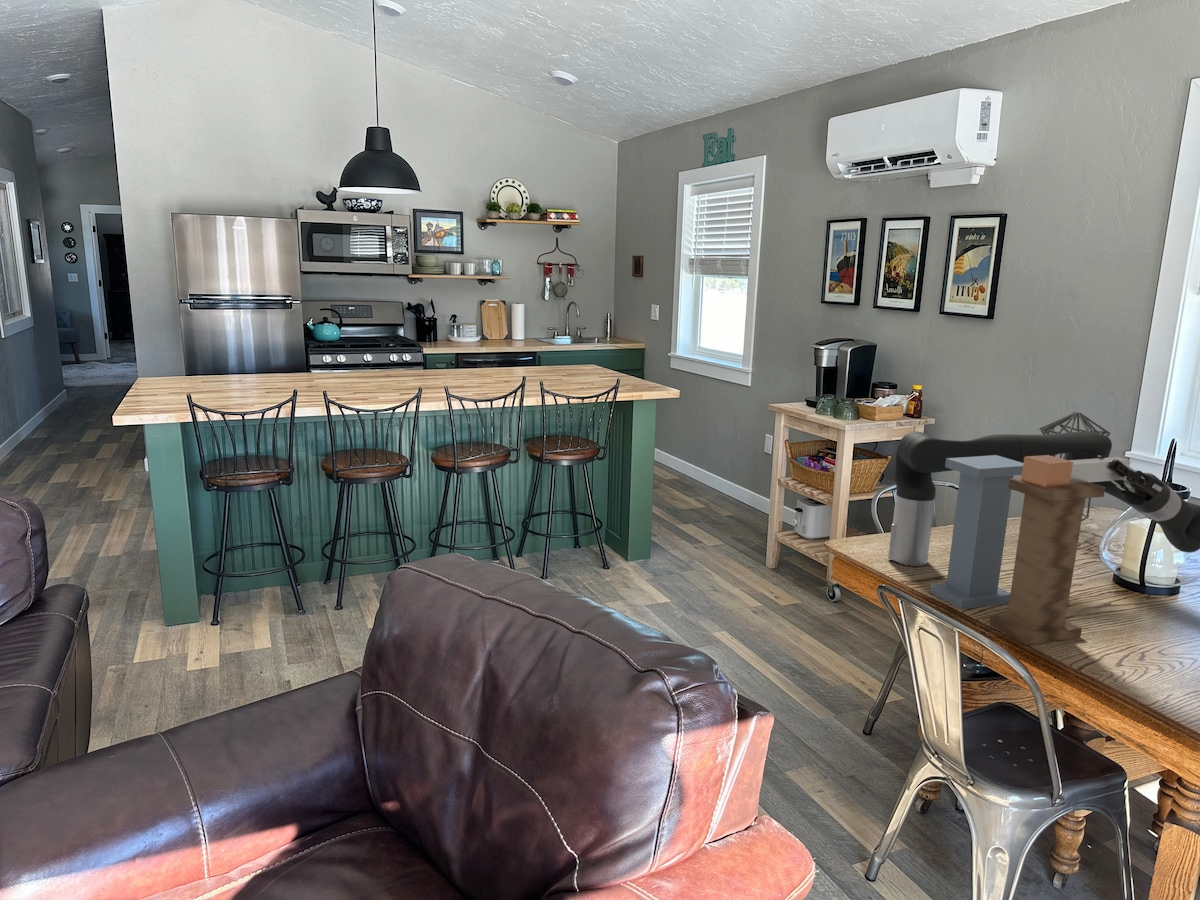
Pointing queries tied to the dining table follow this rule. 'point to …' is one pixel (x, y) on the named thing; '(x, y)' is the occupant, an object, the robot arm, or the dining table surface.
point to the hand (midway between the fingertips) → (1104, 461)
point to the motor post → (978, 531)
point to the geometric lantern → (1066, 418)
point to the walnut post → (1045, 562)
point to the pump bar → (1067, 471)
